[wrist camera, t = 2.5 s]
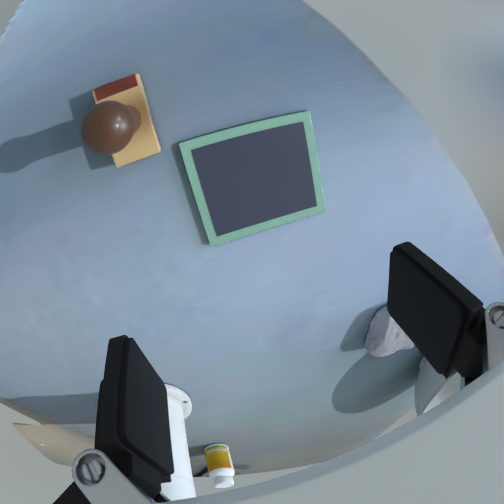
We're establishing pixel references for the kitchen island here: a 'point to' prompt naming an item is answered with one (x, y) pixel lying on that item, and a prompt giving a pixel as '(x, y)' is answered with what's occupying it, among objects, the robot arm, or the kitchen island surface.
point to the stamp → (121, 122)
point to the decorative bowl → (433, 387)
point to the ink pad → (254, 176)
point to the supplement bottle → (219, 465)
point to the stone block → (385, 335)
